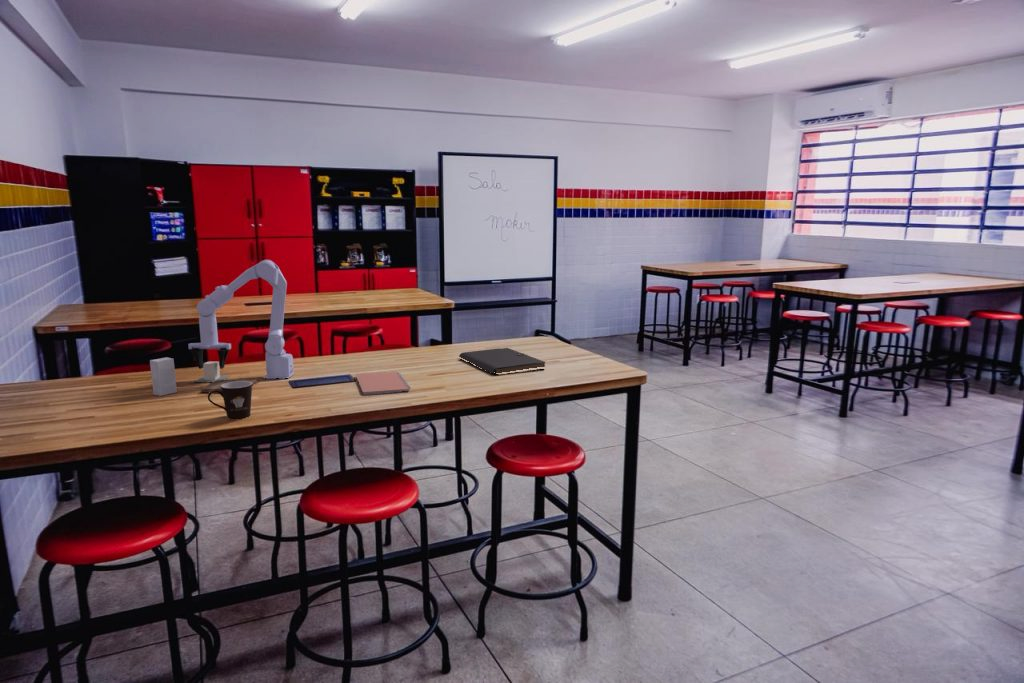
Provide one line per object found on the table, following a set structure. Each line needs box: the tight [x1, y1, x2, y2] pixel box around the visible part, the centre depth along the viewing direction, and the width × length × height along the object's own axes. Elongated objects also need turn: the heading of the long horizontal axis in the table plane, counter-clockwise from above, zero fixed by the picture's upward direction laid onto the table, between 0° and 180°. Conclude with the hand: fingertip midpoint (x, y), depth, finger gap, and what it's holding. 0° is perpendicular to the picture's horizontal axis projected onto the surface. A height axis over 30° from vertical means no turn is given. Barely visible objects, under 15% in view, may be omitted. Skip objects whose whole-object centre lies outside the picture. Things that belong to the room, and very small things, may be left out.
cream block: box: [202, 361, 221, 380], centre depth 231 cm, size 4×4×6 cm
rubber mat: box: [194, 375, 230, 383], centre depth 232 cm, size 9×9×1 cm
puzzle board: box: [201, 379, 257, 393], centre depth 220 cm, size 14×13×2 cm
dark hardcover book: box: [458, 347, 546, 375], centre depth 264 cm, size 33×4×24 cm
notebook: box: [355, 370, 412, 396], centre depth 229 cm, size 27×17×2 cm, turn 19°
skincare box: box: [149, 356, 178, 397], centre depth 212 cm, size 6×4×12 cm
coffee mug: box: [207, 381, 253, 420], centre depth 188 cm, size 12×9×10 cm
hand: (211, 368), depth 231 cm, fingers open, 7 cm apart
